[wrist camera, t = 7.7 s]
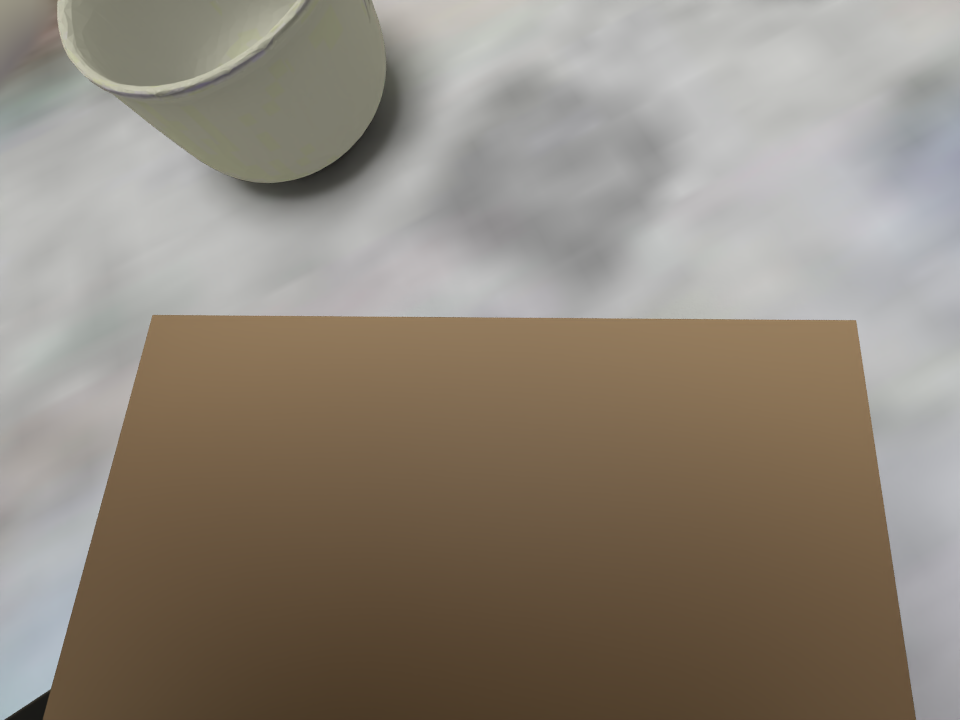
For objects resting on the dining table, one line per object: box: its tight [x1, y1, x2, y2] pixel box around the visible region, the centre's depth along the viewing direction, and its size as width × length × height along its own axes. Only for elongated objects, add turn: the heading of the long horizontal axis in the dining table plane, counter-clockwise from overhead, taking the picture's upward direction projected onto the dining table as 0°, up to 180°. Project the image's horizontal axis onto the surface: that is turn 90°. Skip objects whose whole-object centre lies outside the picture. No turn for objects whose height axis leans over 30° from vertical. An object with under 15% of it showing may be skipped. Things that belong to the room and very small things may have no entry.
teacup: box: [57, 0, 386, 183], centre depth 20 cm, size 14×11×8 cm
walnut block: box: [43, 315, 916, 720], centre depth 9 cm, size 5×5×12 cm
